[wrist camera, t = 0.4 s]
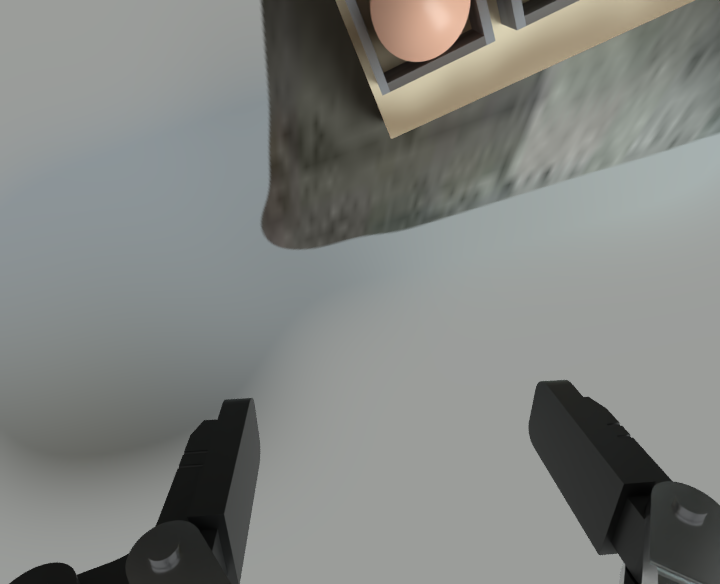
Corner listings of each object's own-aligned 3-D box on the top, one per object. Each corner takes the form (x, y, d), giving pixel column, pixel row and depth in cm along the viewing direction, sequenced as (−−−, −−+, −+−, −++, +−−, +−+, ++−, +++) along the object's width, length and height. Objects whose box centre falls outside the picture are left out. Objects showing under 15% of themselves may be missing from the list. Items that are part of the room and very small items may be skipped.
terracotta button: (354, -26, 23) (355, -25, 21) (444, -77, 22) (454, -80, 20) (389, 69, 26) (393, 78, 24) (470, 28, 24) (481, 34, 22)
